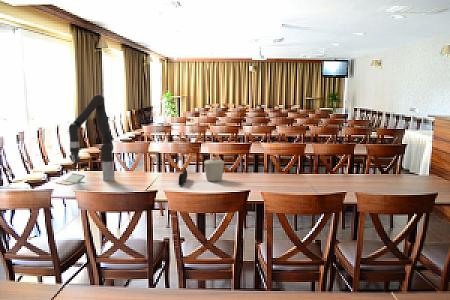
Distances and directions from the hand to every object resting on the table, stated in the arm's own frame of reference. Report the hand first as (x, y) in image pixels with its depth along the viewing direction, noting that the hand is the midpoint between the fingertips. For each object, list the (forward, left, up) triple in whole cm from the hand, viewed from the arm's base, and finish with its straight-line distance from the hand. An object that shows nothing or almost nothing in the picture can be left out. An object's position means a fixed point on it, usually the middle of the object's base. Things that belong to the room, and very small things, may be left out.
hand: (75, 166), depth 352 cm
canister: (-97, -71, -13) cm, 121 cm away
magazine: (-80, -48, -14) cm, 95 cm away
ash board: (-2, +12, -13) cm, 18 cm away
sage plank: (-2, +2, -11) cm, 11 cm away
